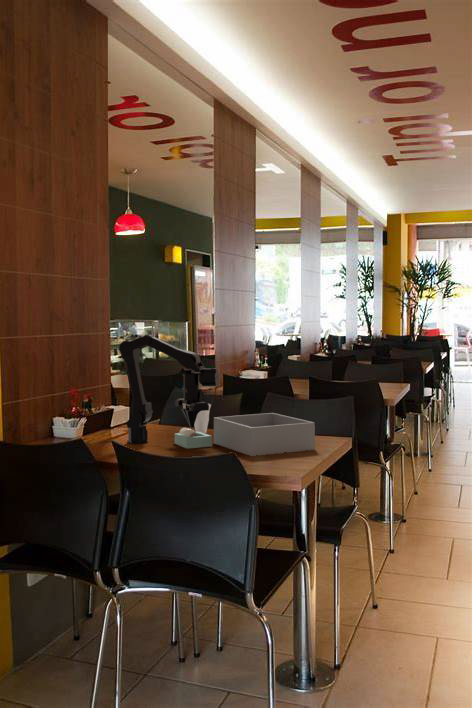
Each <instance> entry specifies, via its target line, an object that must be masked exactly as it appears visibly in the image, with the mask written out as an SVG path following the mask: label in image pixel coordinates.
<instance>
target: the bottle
mask: <svg viewBox="0 0 472 708" xmlns="http://www.w3.org/2000/svg"><path fill="white" fill-rule="evenodd" d="M178 433H180V434H183V435H185V436H188V437H197V433H196V431H195V430H194V429H192V428H188V427H182V428H181V429H180V430H179V432H178Z"/></svg>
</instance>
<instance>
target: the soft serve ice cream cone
mask: <svg viewBox="0 0 472 708" xmlns="http://www.w3.org/2000/svg"><path fill="white" fill-rule="evenodd" d="M208 405H209V410H205V411H200V412H199V413H198V414H197V417H196V420H195V424H194V429H195V430H194V431H196V432H198V431H199V432H202V433H205V434H207V430H208V426H209V421H210V409H211V407H212V404H211V405H210V404H208Z"/></svg>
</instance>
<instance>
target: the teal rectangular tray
mask: <svg viewBox="0 0 472 708" xmlns="http://www.w3.org/2000/svg"><path fill="white" fill-rule="evenodd" d="M196 433H197V437H188V436H185V435H183V434H180V433H179V432H177V433H174V444H175V445H177V446H179V447H182V448H184V449H195V448H196V449H197V448H208V447H213V445H212V444H213V443H212V441H213V438H212V437H213V436H212V435H210V434H208V433H202V432H199V431H198V432H196Z"/></svg>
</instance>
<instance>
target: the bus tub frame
mask: <svg viewBox="0 0 472 708" xmlns="http://www.w3.org/2000/svg"><path fill="white" fill-rule="evenodd" d="M315 428H316V425H315V422H314V421H309V420H305V419H301V418H297V417H292V416H287V415H283V414H281V413H280V414H279V413H275V412H269V413H253V414H243V415H242V414H241V415H240V414H239V415H231V416H230V415H228V416H217V417H215V416H214V417H213V444H215V445H217V446H221V447H224V448H226V449H229V450H233V451H235V452H238V453H242V454H244V455H247V456H250V457H255V456H256V455H258V456H266V455H267V454H268V455H276V453H277V454H285V453H284V452H287V453H295V452H303V451H306V450H307V451H315V449H316V448H315V447H316V446H315V444H316V442H315V441H316V439H315V437H316V435H315V433H316V432H315ZM307 451H306V452H307Z"/></svg>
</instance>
